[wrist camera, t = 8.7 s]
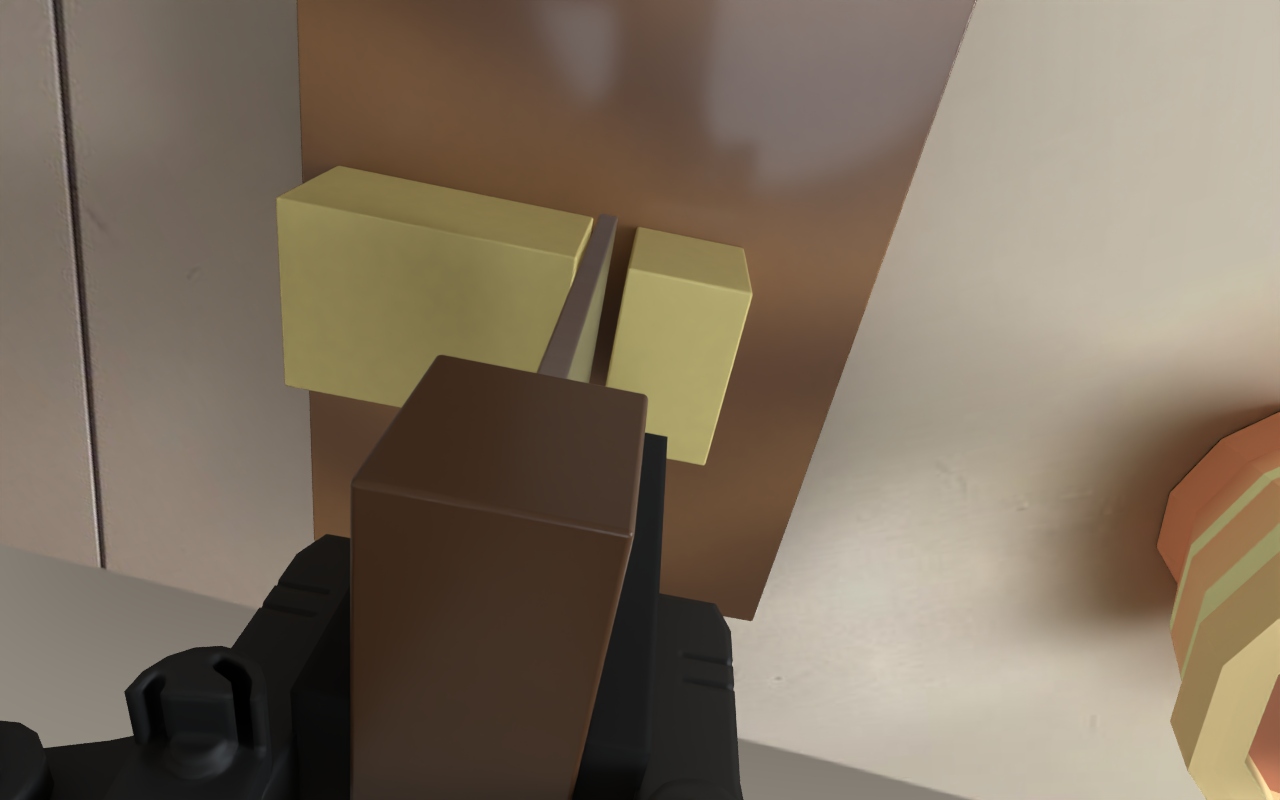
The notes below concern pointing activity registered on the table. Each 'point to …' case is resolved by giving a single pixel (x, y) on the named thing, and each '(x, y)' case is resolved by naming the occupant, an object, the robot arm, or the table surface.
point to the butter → (415, 281)
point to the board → (655, 194)
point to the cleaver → (492, 567)
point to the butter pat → (680, 334)
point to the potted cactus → (1228, 614)
